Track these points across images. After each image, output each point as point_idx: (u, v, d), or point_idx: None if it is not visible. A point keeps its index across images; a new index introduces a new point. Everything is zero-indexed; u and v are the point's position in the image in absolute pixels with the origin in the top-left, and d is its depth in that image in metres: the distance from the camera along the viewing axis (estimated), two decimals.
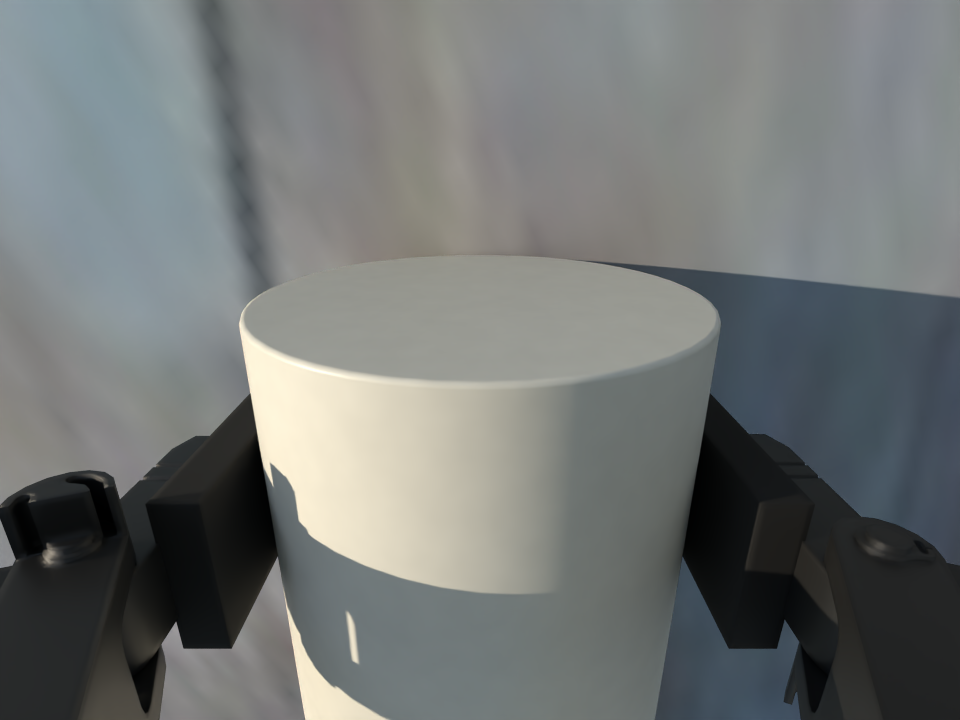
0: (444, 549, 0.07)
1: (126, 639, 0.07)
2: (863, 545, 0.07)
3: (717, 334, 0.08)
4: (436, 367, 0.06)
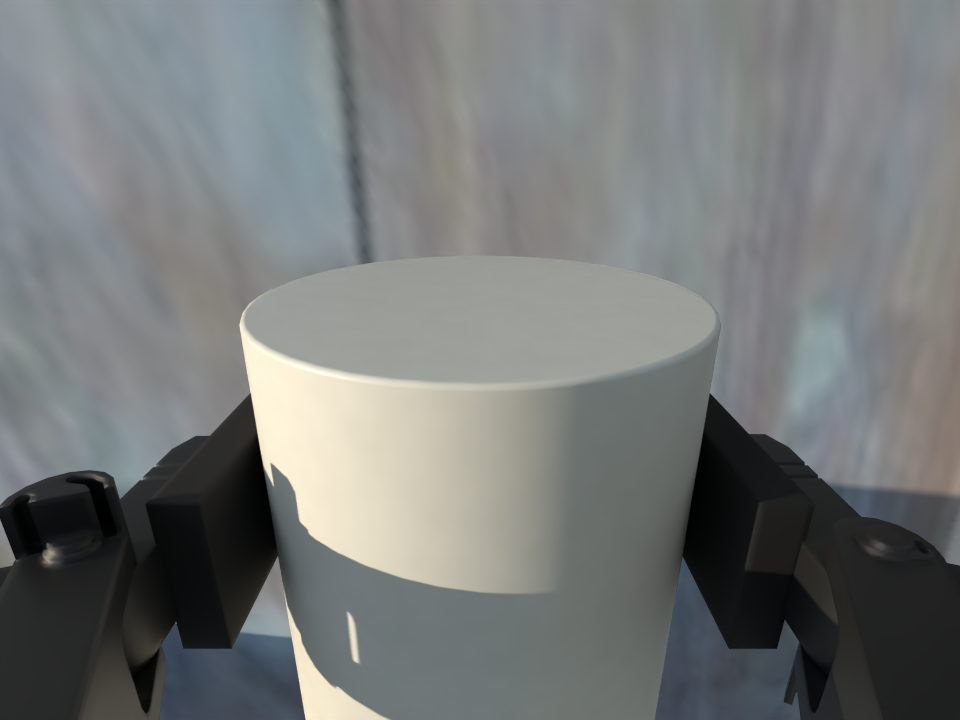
0: (444, 549, 0.07)
1: (126, 639, 0.07)
2: (863, 545, 0.07)
3: (717, 335, 0.08)
4: (436, 369, 0.06)
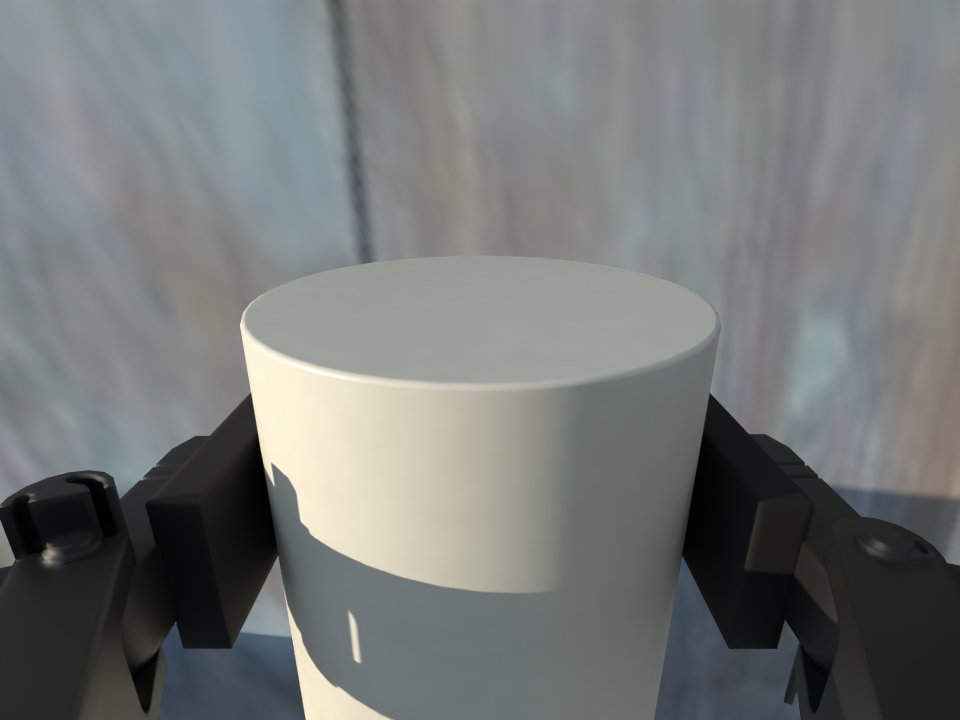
0: (445, 550, 0.07)
1: (126, 639, 0.07)
2: (864, 546, 0.07)
3: (717, 336, 0.08)
4: (438, 369, 0.06)
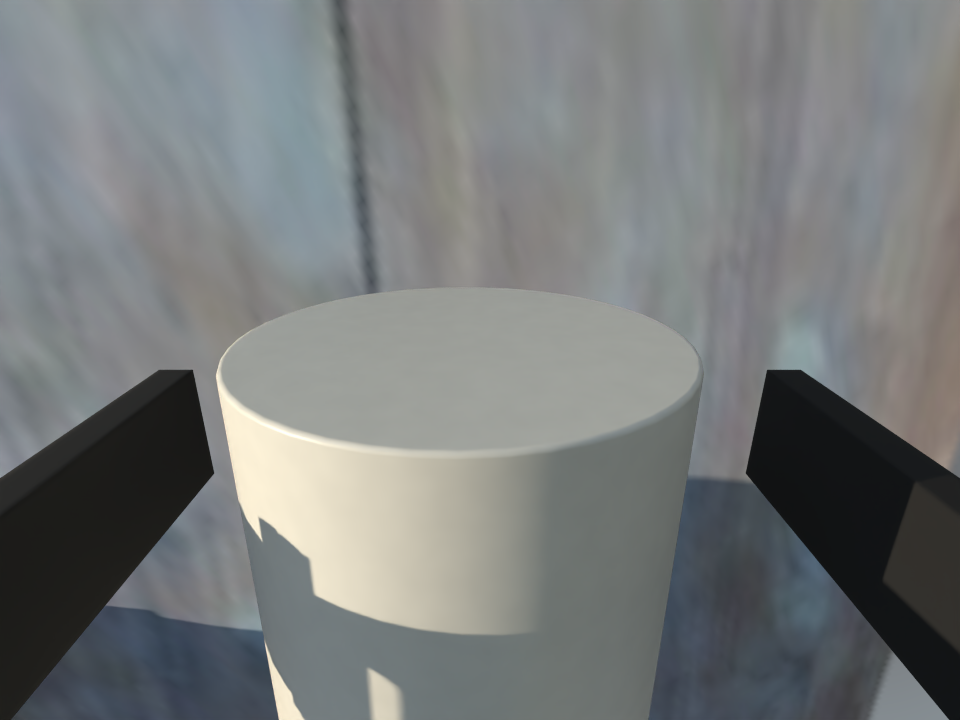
0: (423, 613, 0.07)
1: None
2: None
3: (699, 386, 0.08)
4: (414, 432, 0.06)
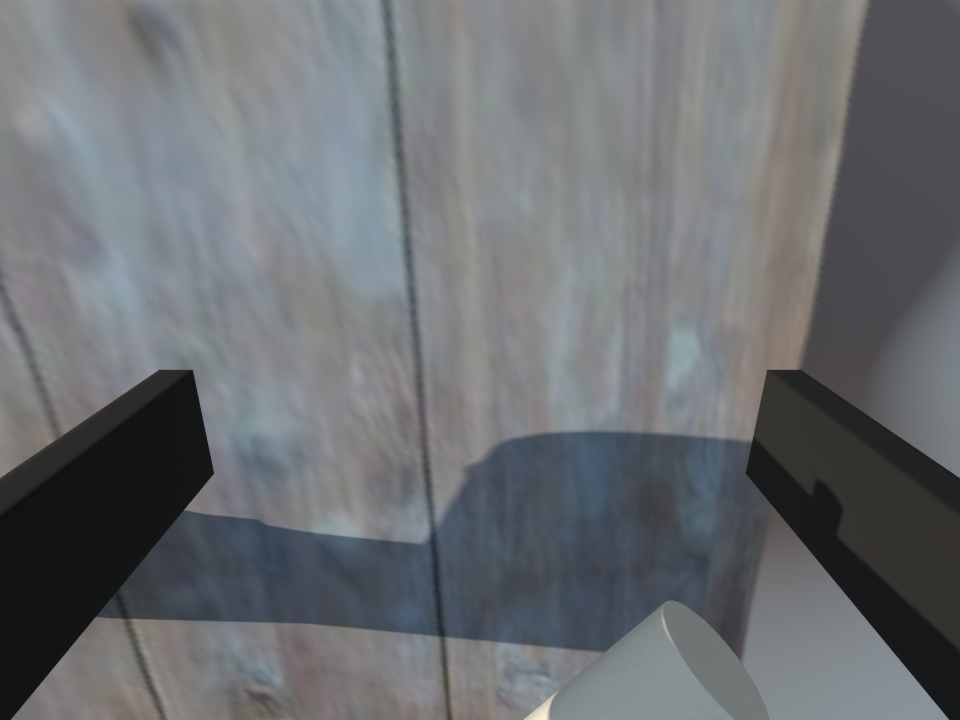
0: None
1: None
2: None
3: None
4: (734, 714, 0.28)
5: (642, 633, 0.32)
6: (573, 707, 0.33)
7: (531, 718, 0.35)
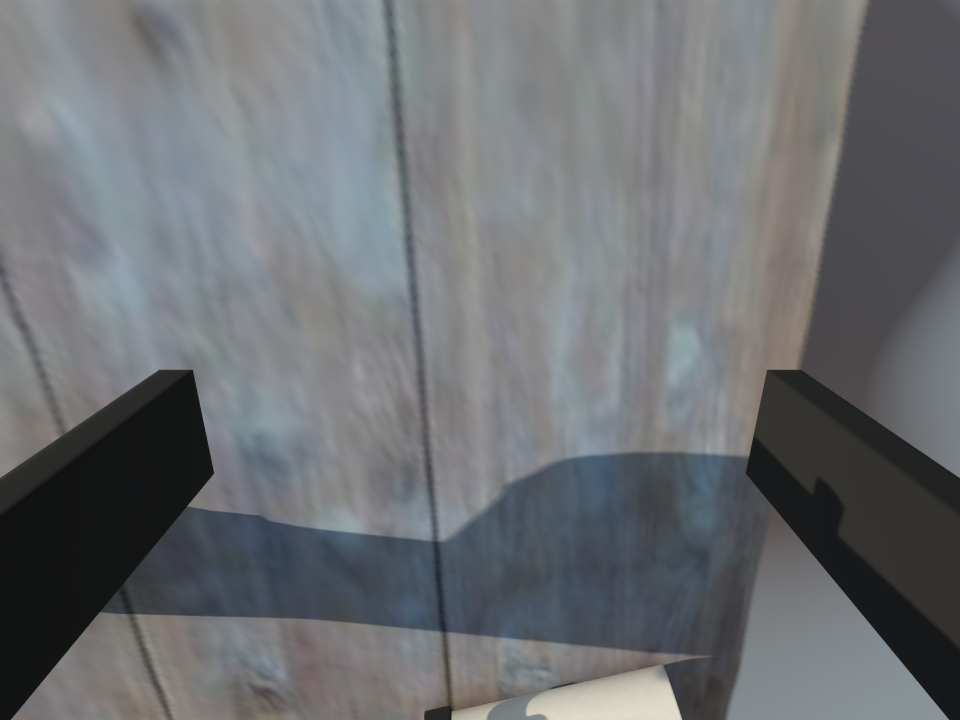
0: None
1: None
2: None
3: None
4: None
5: (649, 676, 0.55)
6: (592, 698, 0.55)
7: (552, 694, 0.57)
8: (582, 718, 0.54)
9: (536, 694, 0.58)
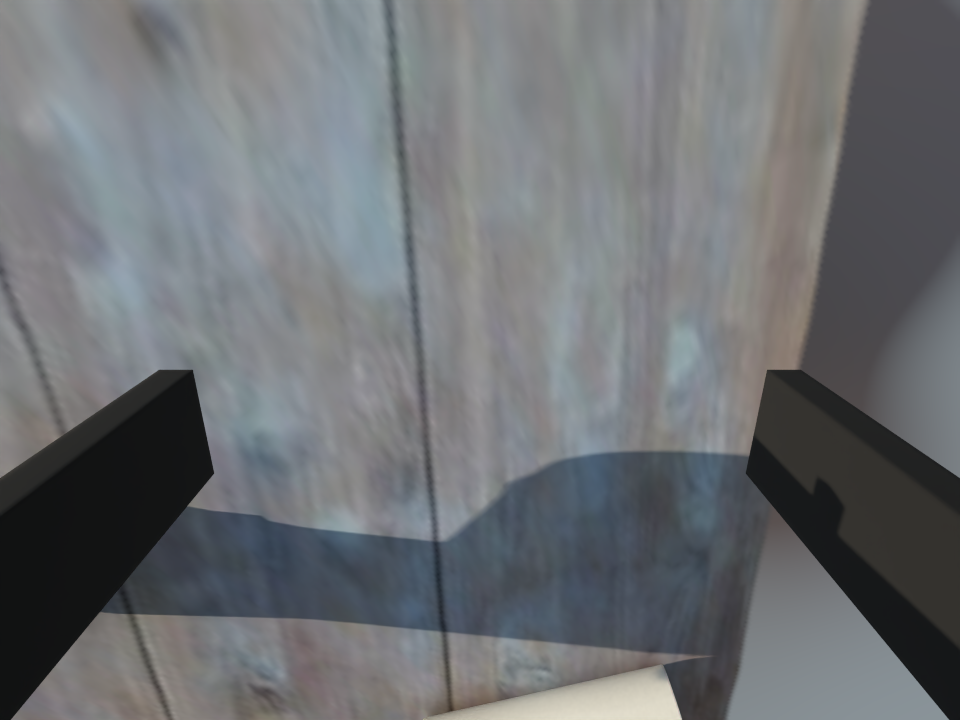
0: None
1: None
2: None
3: None
4: None
5: (649, 676, 0.55)
6: (592, 698, 0.55)
7: (552, 694, 0.57)
8: (582, 718, 0.54)
9: (536, 694, 0.58)
